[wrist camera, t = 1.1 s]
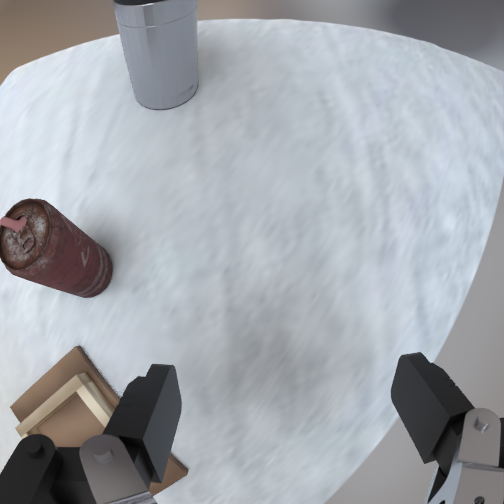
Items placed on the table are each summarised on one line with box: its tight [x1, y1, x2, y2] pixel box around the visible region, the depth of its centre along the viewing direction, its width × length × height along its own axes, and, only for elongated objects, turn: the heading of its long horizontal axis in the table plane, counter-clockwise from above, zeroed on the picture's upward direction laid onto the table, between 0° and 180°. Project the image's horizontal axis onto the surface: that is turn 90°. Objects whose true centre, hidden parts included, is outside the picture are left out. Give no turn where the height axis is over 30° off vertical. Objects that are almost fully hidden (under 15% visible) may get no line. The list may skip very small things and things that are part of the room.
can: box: [0, 199, 112, 298], centre depth 24 cm, size 6×6×14 cm
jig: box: [10, 346, 188, 496], centre depth 24 cm, size 18×14×4 cm
